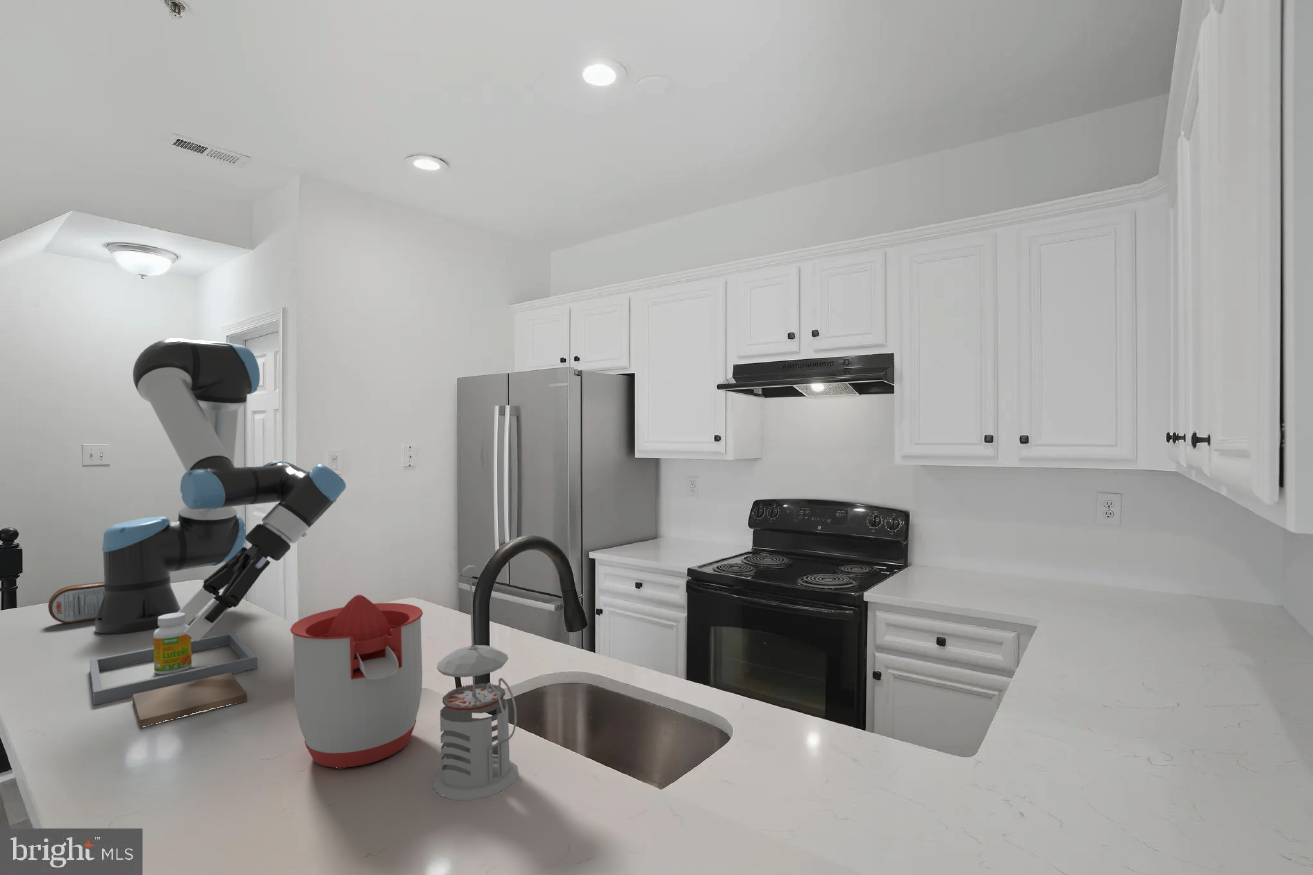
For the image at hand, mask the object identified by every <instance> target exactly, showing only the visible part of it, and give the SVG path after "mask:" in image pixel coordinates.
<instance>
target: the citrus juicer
mask: <svg viewBox="0 0 1313 875" xmlns="http://www.w3.org/2000/svg"><path fill="white" fill-rule="evenodd" d="M423 614H424V613H423V610H422V609H421V608H420V607H419V606H416V605H414V604H410V603H400V602H379V603H378V602H377V603H373V602H372V601H371V600H370V599H368V598H367V597H365V596H364V595H363V594H355V595H354V596H353V597H351V598H350V600H349V601H348V602H347V603H346V604H345V605H344V606H343V607H338V608H332V609H328V610H324V611H320V612H317V613H314V614H310V615H308V616H305V617H302V619H299V620H297V621H296V622H294V623H293V624H292V625H291V627H290V629H289V631H290V632H291V634H292V637H293V638H292V646H293V674H294V676H293V677H294V678H293V680H294V700H295V701H294V702H295V711H296V715H297V720H298V725H299V728H300V731H301V733H302V734H301V735H302V736H303V738H304V744H305V748H306V749H307V750H308V753H309V755H310V756H311V758H312V760H313V761H314V762H316V763H317V764H319V765H320V766H323V767H330V768H334V767H337V768H344V767H347V768H351V767H359V766H363V765H368V764H371V763H375V762H378V761H380V760H384V759H385V758H389V757H390V756H392V755H394V754H396V753H398V752H400V751H402V750H403V749H404V747H406V745H407V744H408V743H409V742H410V739H411V737H412V735H413V731H414V729H415V725H416V724H417V718H418V717H417V716H418V713H419V709H420V705H421V699H422V698H421V697H422V691H423V657H422V656H423V655H422V653H423V652H422V648H423V647H422V622H421V620H422V616H423ZM344 769H345V768H344Z"/></svg>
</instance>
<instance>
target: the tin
mask: <svg viewBox="0 0 1313 875" xmlns="http://www.w3.org/2000/svg"><path fill="white" fill-rule="evenodd" d="M104 594H105V584H104V581H98V582H92V583H81V584H72V585H67V586H64V587H62V588H60V589H58V590H57V591H55V592H54V593H53V595H52V596H51V597H50V598H49V601H48V604H47V607H48V613H49V614H50V617H51V618H52V619H54V621H57V622H58V623H61V624H62V623H63V624H75V623H82V622H87V621H95V620H96V617H97V614H98V611H99V609H100V606H101V603H102V600H103V598H104Z"/></svg>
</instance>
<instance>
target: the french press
mask: <svg viewBox="0 0 1313 875" xmlns="http://www.w3.org/2000/svg"><path fill="white" fill-rule="evenodd" d="M479 575H480V570H479V568H478V566H476V565H472V564H469V565H467V566H465V567H464V568H463V569H462V577H466V578H467V577H468V578H469V597H470V600H469V602H470V603H469V604H470V631H471V632H470V633H471V634H470V635H471V636H470V637H471V641H470V642H471V645H468V646H464V647H459V648H458V649H456V650H453V651H451V652H450V653H449V654H447V655H446V656H444V657H443V658H442V659H441V660H440V661H438V662H437V664H436V669H437V671H438V672H439V673H440V674H441V675H444V676H447V677H452V678H469V677H472V683H471V684H466V685H463V686H460V687H455V688H454V689H451V690H450V691H448V692H447V693H446V694H445V695H443V697H442V704H443V705H444V706H443V707H442V708H441V709H440V711H439V712H440V713H439V720H440V722H439V724H440V728H439V729H440V733H441V735H440V744H441V745H440V746H441V747H440V755H441V758H440V762H441V764H440V765H441V770H440V771H439V773H438V774H437V775H436V776H435V778H434V779H433V781H434V782H433V781H432V782H433V783H434V784H433V783H432V789H433V788H434V789H435V790H436V791H435V790H434V789H433V790H434V791H435V793H436V792H438V794H440V795H441V796H440V797H442V795H443V798H445V797H446V798H445V799H449V800H453V801H454V800H455V801H471V800H478V799H482V798H487V797H490V796H493V795H495V794H497V793H501V792H503V791H504V790H506V789H508V787H510V786H511V785H513V783H515V781H516V780H517V778H518V776H519V768H518V765H516V764H515V763H514V762H513V761H511V760H510V740H511V738H512V737H513V736H514V735H515V732H516V728H517V727H516V726H517V722H518V721H517V716H518V715H517V706H516V705H517V704H516V701H515V698H514V694H513V691H512V690H511V688H510V686H509V684H508V682H507V681H505V679H504V678H503V677H500V678H499V679H498V685H497V684H494V683H491V682H487V683H479V684H478V683H477V684H476V676H478V677H479V676H482V675H487V674H490V673H493V672H496V671H497V670H501V669H502V667H504V665H505V664H506V663H507V662H508V660H509V655H508V654H507V653H505V652H503V651H501V650H499V649H497V648H495V647H493V646H489V645H481V644H479V645H478V644H477V645H476V644H475V642H474V614H473V610H474V608H473V607H474V606H473V605H474V604H473V580H472V578H473V577H475V576H479ZM501 682H502V683H503V684H504V686H505V687H506V689H507V691H508V692H509V694H510V697H511V701H512V705H513V709H514V713H513V714H514V716H513V717H514V719H513V720H514V721H513V729H512V732H511V734H510V732H509V730H510V729H509V728H510V726H509V702H508V701H507V699H505V698H504V697H505V695H506V690H505V689H504V688H503V687H501V686H502V683H501ZM499 708H500V709H501V711H500V712H499V713H496V714H494V715H492V716H487V717H482V718H477V717H473V714H484V713H490V712H492V711H495V710H497V709H499ZM504 708H505V709H504ZM496 720H497V721H496ZM494 721H496V724H494V725H492V724H493V723H492V722H494ZM495 731H497V734H495V735H493V732H495ZM496 741H497V742H496ZM495 742H496V743H495ZM493 743H495V744H493ZM438 794H437V795H438Z"/></svg>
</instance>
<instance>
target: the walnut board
mask: <svg viewBox="0 0 1313 875" xmlns="http://www.w3.org/2000/svg"><path fill="white" fill-rule="evenodd" d="M244 701H247V702H248V694H247V692H246V690H245V689H244V688H243V687H242V686H241V684H240V683H239V681H238V680H237V679H236V678H235V676H234V674H231V673H226V674H222V675H217V676H213V677H209V678H204V679H200V680H195V681H191V682H186V683H182V684H177V685H173V686H168V687H164V688H159V689H155V690H151V691H146V692H142V693H137V694H133V696H132V703H133V708H134V711H135V714H137V715H136V717H137V722H138V721H139V722H138V725H139V724H140V725H139V728H140V729H143V728H142V727H143V726H148V725H151V724H156V723H159V722H163V721H165V720H171V719H176V718H178V717H182V716H184V715H190V714H192V713H196V712H199V711H204V710H209V709H211V708H217V707H220V706H226V705H229V704H235V705H237V704H236V703H239V704H242V702H243V703H245V702H244ZM176 720H177V719H176ZM156 725H157V724H156ZM148 727H149V726H148Z"/></svg>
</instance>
